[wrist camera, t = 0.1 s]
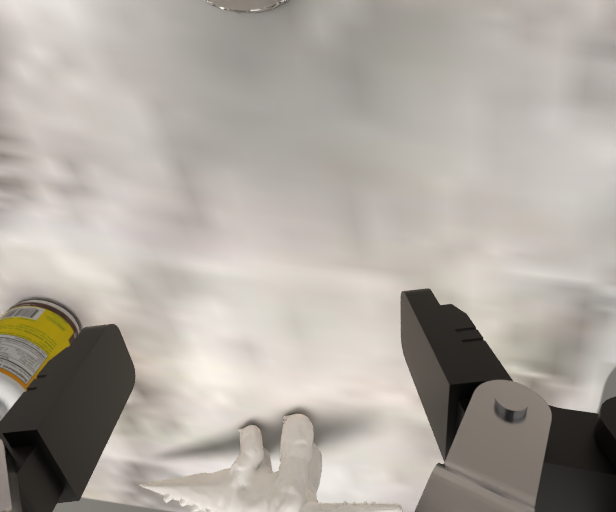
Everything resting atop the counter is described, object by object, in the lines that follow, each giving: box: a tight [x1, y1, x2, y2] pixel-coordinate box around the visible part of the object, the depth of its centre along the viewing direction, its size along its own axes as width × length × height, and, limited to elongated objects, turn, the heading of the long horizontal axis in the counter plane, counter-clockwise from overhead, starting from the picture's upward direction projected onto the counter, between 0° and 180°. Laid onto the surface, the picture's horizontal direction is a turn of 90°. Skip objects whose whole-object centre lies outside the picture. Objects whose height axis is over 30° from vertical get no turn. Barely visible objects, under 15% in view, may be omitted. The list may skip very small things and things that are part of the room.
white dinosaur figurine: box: [139, 414, 403, 512], centre depth 35 cm, size 7×24×11 cm, turn 102°
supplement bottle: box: [0, 300, 80, 421], centre depth 27 cm, size 6×6×10 cm
